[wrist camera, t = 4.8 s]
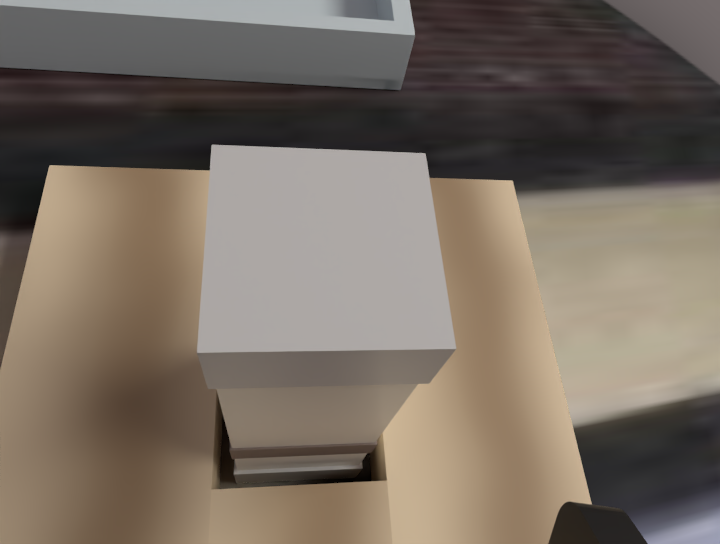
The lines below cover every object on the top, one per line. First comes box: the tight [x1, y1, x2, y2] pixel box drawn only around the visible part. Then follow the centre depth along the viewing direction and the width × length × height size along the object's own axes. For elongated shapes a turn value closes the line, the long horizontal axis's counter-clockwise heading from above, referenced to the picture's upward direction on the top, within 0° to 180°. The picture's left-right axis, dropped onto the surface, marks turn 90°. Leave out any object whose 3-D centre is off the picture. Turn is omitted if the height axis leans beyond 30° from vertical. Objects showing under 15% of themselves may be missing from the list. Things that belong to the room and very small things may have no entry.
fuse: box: [197, 145, 456, 484], centre depth 14 cm, size 4×4×11 cm
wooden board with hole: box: [0, 165, 592, 544], centre depth 17 cm, size 16×16×2 cm
